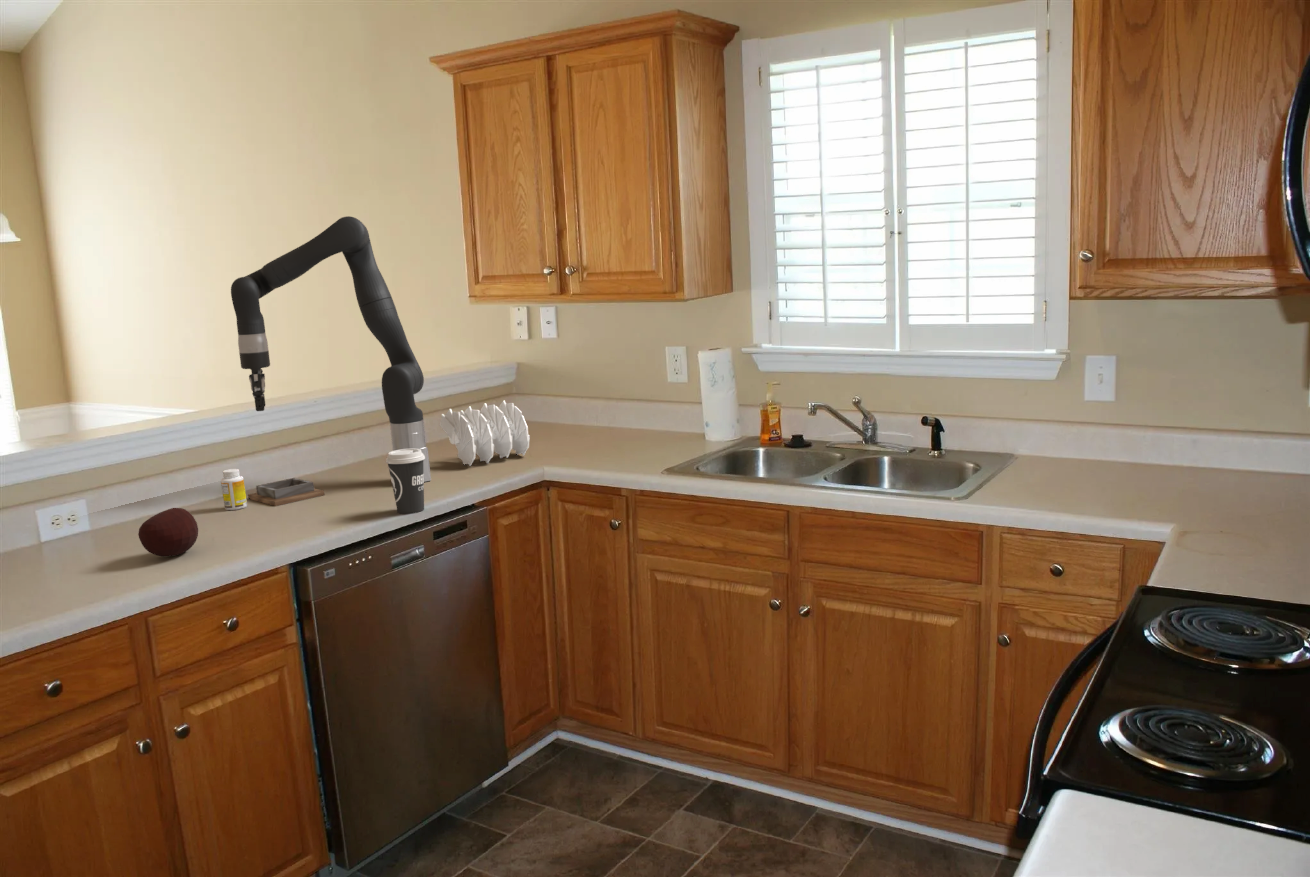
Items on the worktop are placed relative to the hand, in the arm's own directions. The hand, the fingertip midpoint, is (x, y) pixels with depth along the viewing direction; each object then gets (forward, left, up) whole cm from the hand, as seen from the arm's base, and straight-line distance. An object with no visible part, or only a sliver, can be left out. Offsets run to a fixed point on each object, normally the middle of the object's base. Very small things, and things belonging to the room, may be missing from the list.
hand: (260, 408), depth 286 cm
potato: (-43, +44, -24) cm, 66 cm away
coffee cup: (-56, -9, -24) cm, 62 cm away
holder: (-10, +1, -24) cm, 26 cm away
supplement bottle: (-10, +15, -24) cm, 30 cm away
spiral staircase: (-23, -59, -24) cm, 68 cm away
